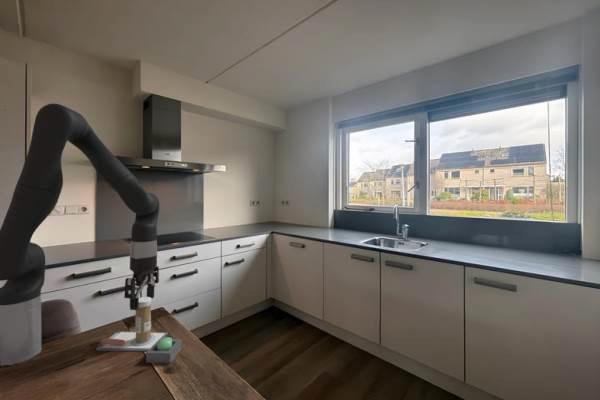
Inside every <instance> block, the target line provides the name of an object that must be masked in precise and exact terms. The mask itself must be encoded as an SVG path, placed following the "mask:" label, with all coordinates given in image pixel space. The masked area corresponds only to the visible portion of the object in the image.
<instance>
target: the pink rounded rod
mask: <svg viewBox="0 0 600 400" xmlns="http://www.w3.org/2000/svg"><path fill="white" fill-rule="evenodd" d="M124 343H125V341H124V340H120V339H110V337H103V338H101V341H100V344H101V345H102V344H110V345H120V346H122V345H124Z"/></svg>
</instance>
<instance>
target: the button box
mask: <svg viewBox="0 0 600 400" xmlns="http://www.w3.org/2000/svg"><path fill="white" fill-rule="evenodd" d="M159 340H160V339H159ZM182 341H183V340H182V339H180V338H178V339H177V338H175V339H174V338H172V347H171V348H170V349H169V350H168V351H160V350H157V342H158V341H157V342H156V343H155V344H154V345H153V346H152V347H151V348H150V349H149V350H148V351H147V352H146V351H145V363H147V364H149V363H153V364H154V363H157V364H171V363H172V362H173V361H174V359H176V356H178V354H179V353H180V352H181V350H182V348H183V347H182V345H183V343H182Z"/></svg>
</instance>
